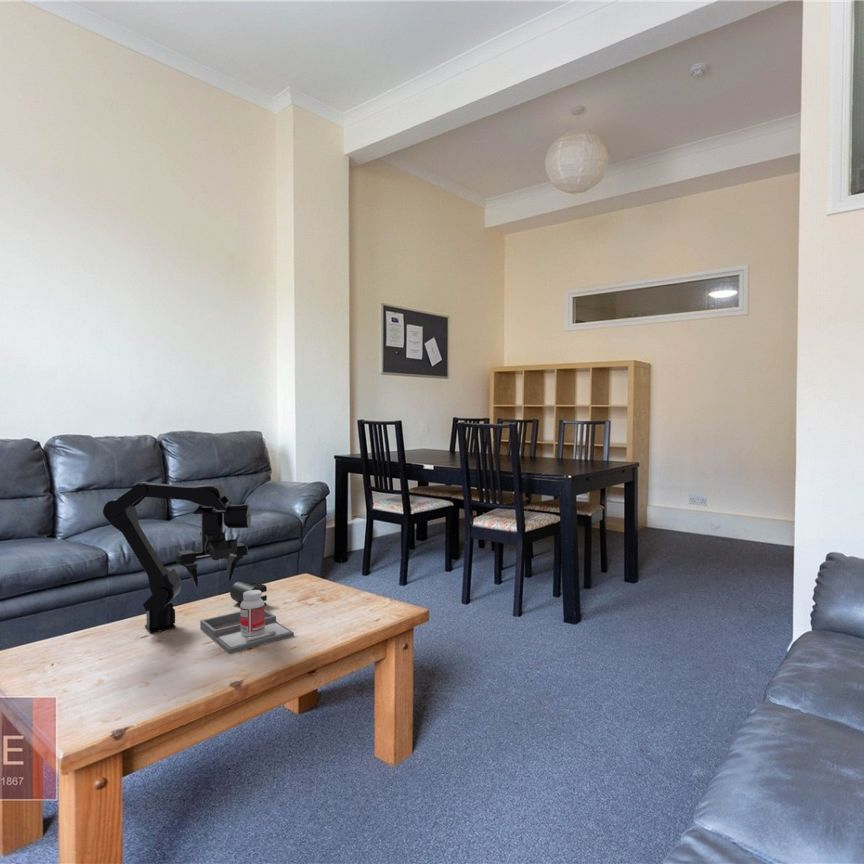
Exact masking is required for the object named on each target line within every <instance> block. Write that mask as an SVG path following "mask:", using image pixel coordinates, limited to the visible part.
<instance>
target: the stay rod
mask: <svg viewBox="0 0 864 864" xmlns="http://www.w3.org/2000/svg"><path fill="white" fill-rule="evenodd" d="M275 634H276V632H275V631H272V632H268V633H265V634H261V635H257V636H253V637H249V638H245V642H250V641H253V640H257V639H261V638H265V637H269V636H272V635H275Z"/></svg>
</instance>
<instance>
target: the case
mask: <svg viewBox="0 0 864 864" xmlns="http://www.w3.org/2000/svg"><path fill="white" fill-rule="evenodd" d="M264 619H265V624H266V623H270V622H274V621H277V616H276V615H274V614H273V613H271V612H270V611H268V610H267V609H265V608H264ZM199 622H200V623H199V624H200V628H199V630H201V632H203V633H204V634H205V635H206V636H208V637H209V638H210V639H211V640H213V641H214V636H218V635H222V634H226V633H230V632H234V631H238V630H241V623H238V624H234V625H230V626H226V627H225V626H224V625H228V624H233V623H237V622H241V621H240V611H236V612H232V613H228V614H223V615H222V614H221V615H218V616H214V617H209V618H205V619H201V620H199ZM220 626H224V627H221V628H217V629H216V627H220Z"/></svg>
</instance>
